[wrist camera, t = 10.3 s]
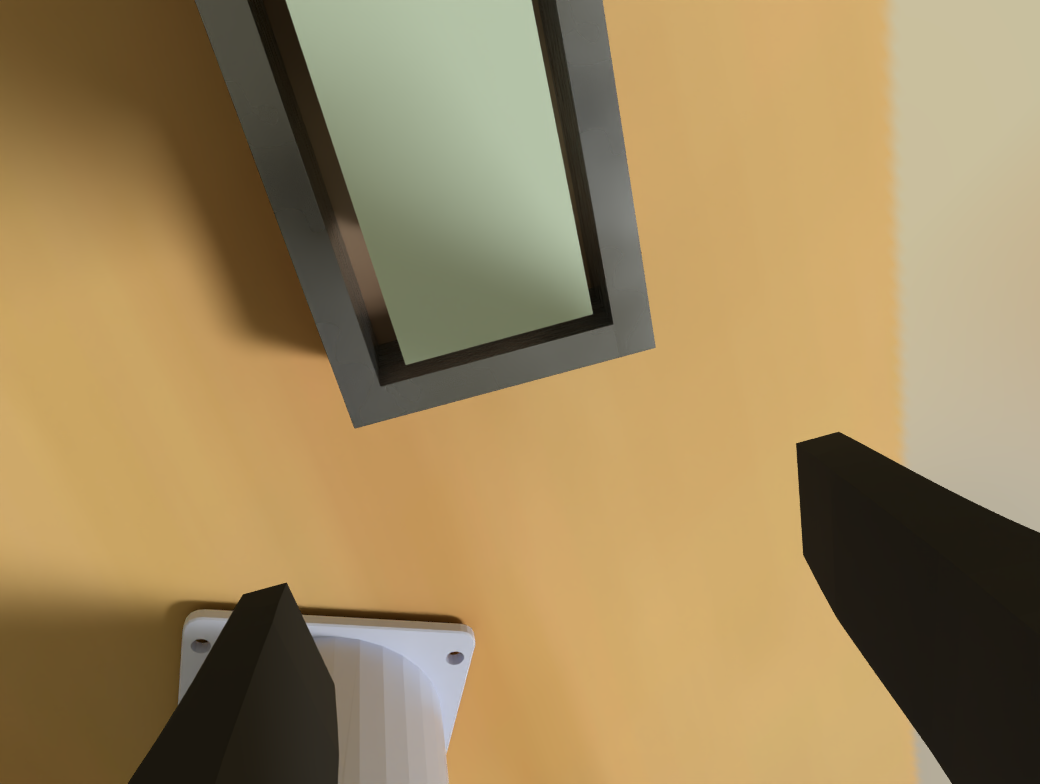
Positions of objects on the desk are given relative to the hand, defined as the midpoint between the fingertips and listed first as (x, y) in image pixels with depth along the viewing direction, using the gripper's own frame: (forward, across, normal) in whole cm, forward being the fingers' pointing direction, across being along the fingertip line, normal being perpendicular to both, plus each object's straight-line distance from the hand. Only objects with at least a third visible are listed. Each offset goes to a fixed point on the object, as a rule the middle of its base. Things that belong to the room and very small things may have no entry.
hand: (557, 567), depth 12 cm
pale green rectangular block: (+9, 0, -6) cm, 11 cm away
